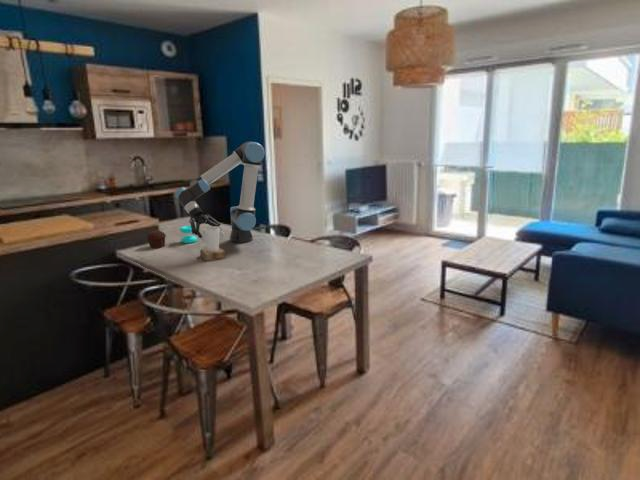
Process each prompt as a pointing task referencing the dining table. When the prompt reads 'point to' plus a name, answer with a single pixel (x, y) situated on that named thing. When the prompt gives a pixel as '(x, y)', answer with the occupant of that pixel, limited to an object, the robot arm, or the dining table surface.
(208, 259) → the pedestal
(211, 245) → the foam cup
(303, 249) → the dining table surface
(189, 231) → the donuts
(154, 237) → the muffin
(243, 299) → the dining table surface
